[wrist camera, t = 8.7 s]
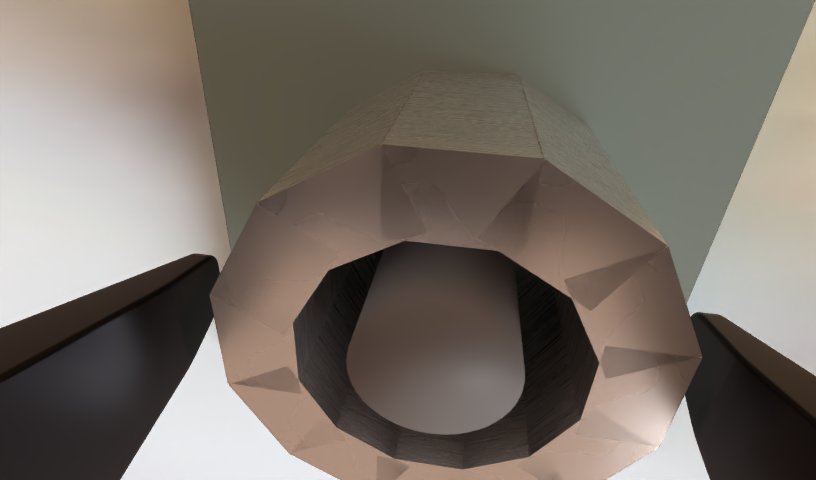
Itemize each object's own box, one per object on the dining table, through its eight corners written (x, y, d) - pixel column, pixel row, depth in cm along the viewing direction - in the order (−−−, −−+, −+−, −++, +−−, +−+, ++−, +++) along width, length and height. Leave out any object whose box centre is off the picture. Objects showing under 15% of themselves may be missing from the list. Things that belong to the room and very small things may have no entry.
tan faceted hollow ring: (573, 351, 13) (615, 537, 9) (321, 319, 14) (247, 476, 10) (651, 84, 10) (787, 180, 5) (305, 59, 10) (174, 125, 6)
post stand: (615, 406, 16) (684, 643, 10) (272, 358, 17) (169, 547, 12) (810, -106, 9) (1357, -232, 3) (205, -126, 10) (-140, -240, 5)
